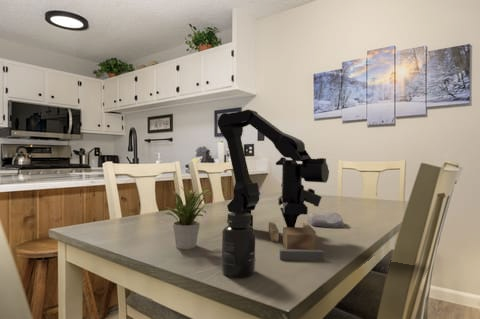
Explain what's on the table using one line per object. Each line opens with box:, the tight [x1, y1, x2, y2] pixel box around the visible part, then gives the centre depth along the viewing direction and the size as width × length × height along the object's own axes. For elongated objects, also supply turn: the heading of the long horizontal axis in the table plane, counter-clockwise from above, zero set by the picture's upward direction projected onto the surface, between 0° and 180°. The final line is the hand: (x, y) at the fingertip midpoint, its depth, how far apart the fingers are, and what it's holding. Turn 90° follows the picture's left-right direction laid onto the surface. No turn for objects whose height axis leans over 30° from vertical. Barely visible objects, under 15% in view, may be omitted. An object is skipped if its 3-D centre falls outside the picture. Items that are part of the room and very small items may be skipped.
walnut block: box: [282, 226, 317, 250], centre depth 79 cm, size 7×8×5 cm
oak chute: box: [267, 221, 317, 243], centre depth 92 cm, size 12×12×3 cm
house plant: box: [160, 186, 212, 250], centre depth 80 cm, size 14×14×16 cm
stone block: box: [307, 212, 344, 228], centre depth 109 cm, size 12×5×10 cm
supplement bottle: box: [221, 212, 256, 279], centre depth 62 cm, size 7×7×12 cm
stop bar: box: [279, 248, 325, 261], centre depth 71 cm, size 10×2×2 cm, turn 89°
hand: (291, 233), depth 89 cm, fingers closed
